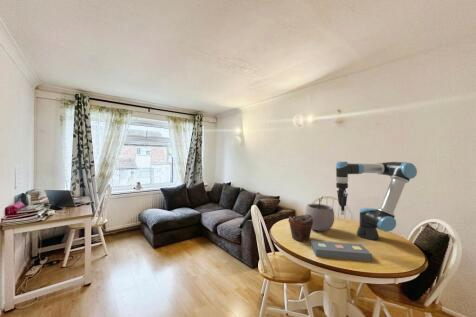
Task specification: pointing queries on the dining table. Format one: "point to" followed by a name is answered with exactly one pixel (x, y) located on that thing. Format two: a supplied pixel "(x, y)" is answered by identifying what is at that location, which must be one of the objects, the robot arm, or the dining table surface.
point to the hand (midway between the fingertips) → (342, 214)
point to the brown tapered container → (301, 227)
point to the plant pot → (320, 216)
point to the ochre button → (356, 248)
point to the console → (341, 251)
